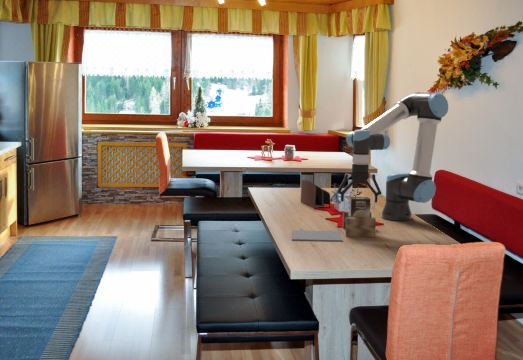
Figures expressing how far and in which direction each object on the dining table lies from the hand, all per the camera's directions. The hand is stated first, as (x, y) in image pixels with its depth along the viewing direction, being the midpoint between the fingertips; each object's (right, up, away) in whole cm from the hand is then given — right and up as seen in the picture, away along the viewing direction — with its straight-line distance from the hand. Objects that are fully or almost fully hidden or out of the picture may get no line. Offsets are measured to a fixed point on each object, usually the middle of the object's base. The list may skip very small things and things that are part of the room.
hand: (358, 209), depth 310 cm
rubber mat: (-20, -12, -8) cm, 25 cm away
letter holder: (-14, -1, +70) cm, 71 cm away
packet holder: (0, -11, +2) cm, 11 cm away
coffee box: (0, -11, +2) cm, 11 cm away
